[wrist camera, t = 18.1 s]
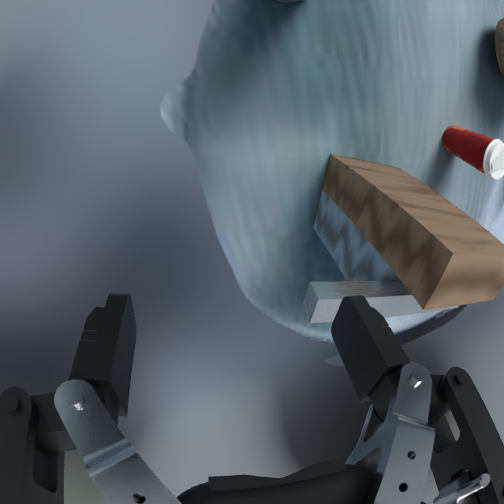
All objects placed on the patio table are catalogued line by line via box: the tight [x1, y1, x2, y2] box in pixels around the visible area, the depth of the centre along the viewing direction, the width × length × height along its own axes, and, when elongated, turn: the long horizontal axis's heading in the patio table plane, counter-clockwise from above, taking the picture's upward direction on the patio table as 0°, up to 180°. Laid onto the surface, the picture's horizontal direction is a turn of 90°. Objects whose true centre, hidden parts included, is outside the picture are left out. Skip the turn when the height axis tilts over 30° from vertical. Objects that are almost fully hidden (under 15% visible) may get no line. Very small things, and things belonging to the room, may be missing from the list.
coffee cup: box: [443, 126, 504, 180], centre depth 43 cm, size 8×8×15 cm
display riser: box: [313, 154, 504, 310], centre depth 41 cm, size 15×16×32 cm
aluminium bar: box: [303, 280, 459, 323], centre depth 34 cm, size 4×26×3 cm, turn 83°
